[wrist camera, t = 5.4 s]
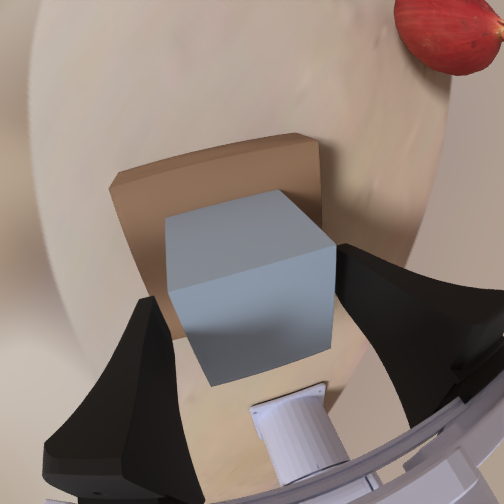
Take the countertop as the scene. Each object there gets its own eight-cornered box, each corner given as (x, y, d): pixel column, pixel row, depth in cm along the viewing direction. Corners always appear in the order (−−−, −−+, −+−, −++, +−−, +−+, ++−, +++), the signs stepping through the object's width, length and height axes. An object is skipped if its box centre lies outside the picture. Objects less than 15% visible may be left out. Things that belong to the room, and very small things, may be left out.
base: (302, 269, 19) (321, 297, 17) (168, 306, 18) (170, 340, 15) (291, 131, 14) (317, 141, 12) (119, 170, 13) (108, 188, 11)
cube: (287, 278, 15) (330, 348, 11) (194, 305, 15) (211, 387, 10) (278, 189, 13) (336, 244, 8) (165, 217, 12) (167, 292, 8)
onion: (349, -9, 10) (462, -38, 3) (412, -14, 10) (512, -23, 3) (385, 79, 13) (503, 99, 7) (440, 61, 13) (539, 79, 7)
